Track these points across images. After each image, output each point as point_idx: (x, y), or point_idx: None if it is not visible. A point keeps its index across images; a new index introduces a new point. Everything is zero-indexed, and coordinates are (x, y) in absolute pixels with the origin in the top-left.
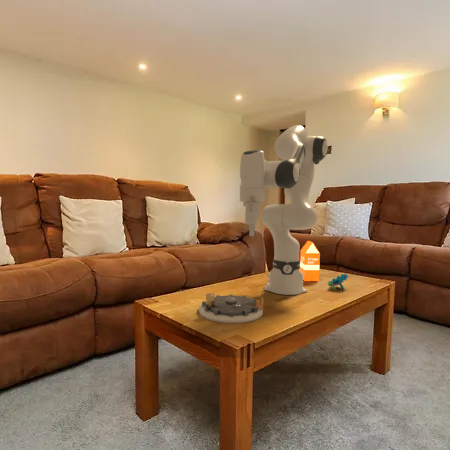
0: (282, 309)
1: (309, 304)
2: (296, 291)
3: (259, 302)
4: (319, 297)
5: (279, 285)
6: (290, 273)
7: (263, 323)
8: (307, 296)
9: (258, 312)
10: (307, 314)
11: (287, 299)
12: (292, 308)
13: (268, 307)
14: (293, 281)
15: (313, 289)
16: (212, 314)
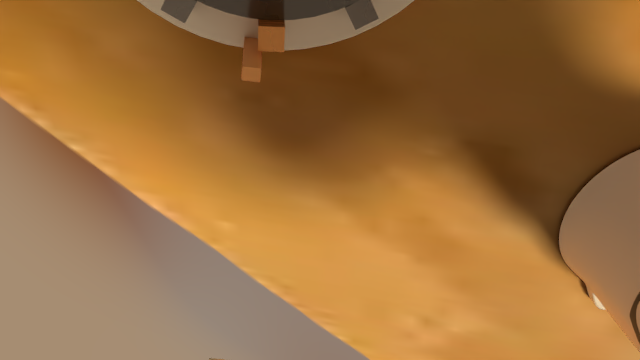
0: (324, 150)
1: (398, 274)
2: (572, 264)
3: (258, 44)
4: (499, 328)
5: (626, 209)
6: (633, 314)
7: (81, 19)
8: (524, 289)
9: None
10: (252, 240)
11: (492, 200)
12: (340, 197)
13: (360, 85)
14: (606, 291)
15: None
16: None
